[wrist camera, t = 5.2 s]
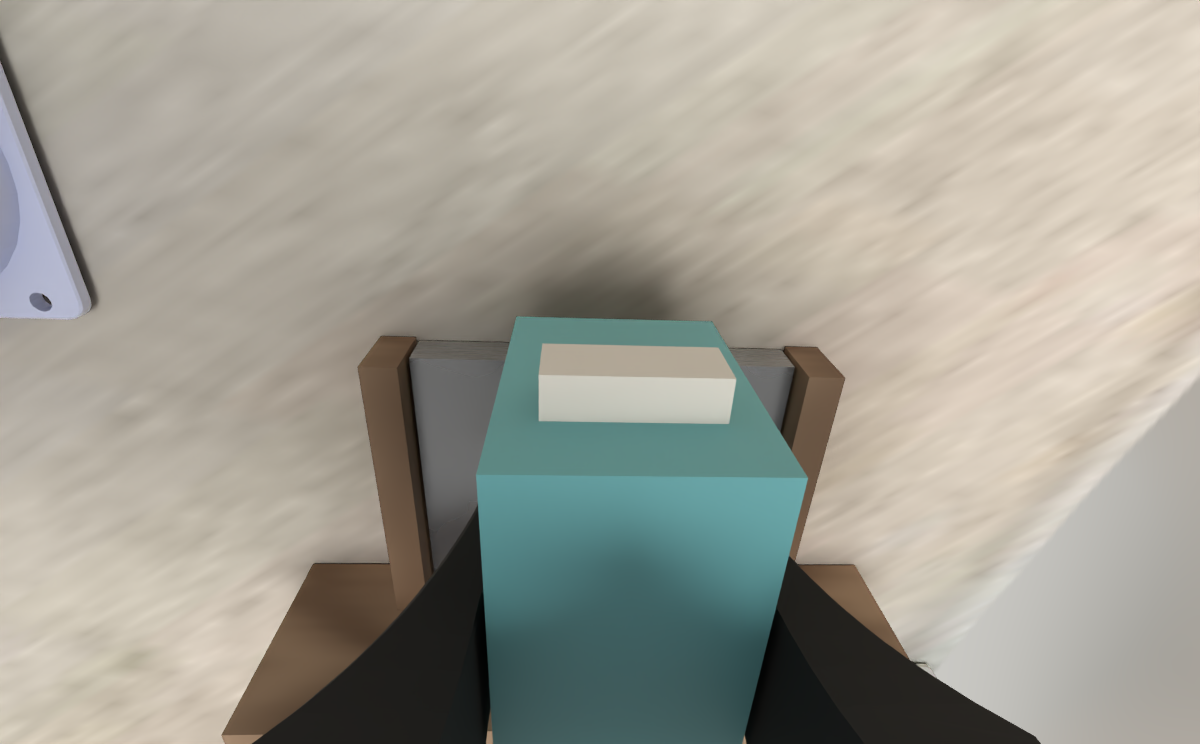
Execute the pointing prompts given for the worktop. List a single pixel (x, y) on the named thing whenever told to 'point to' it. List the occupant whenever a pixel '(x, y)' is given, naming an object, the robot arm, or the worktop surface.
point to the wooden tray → (382, 591)
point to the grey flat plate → (463, 410)
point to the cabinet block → (629, 534)
